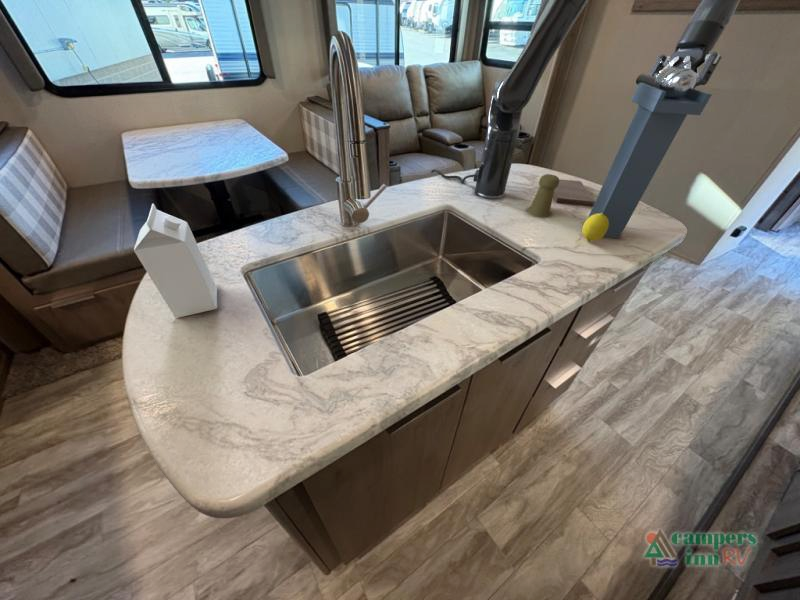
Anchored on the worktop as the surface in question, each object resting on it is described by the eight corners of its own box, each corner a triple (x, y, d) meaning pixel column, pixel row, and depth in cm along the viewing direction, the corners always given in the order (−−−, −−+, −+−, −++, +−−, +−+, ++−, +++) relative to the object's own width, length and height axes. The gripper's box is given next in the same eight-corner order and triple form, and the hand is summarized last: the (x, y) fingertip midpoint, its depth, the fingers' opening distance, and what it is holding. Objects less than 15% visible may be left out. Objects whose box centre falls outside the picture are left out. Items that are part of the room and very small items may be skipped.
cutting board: (592, 205, 101) (594, 201, 100) (556, 202, 103) (557, 197, 102) (579, 185, 114) (581, 181, 113) (547, 182, 115) (548, 178, 114)
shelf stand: (626, 243, 84) (712, 94, 62) (590, 239, 85) (662, 91, 63) (611, 222, 93) (682, 85, 71) (579, 219, 94) (639, 82, 72)
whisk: (692, 101, 64) (707, 70, 61) (664, 100, 65) (678, 70, 62) (650, 85, 80) (660, 60, 77) (628, 85, 81) (637, 60, 77)
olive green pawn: (545, 218, 94) (558, 181, 86) (525, 212, 96) (536, 176, 89) (551, 211, 97) (565, 175, 90) (532, 205, 100) (544, 170, 93)
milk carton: (175, 319, 59) (118, 227, 47) (178, 296, 64) (127, 206, 52) (217, 309, 62) (174, 219, 49) (217, 287, 66) (177, 200, 54)
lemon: (590, 248, 82) (604, 220, 77) (572, 238, 86) (585, 210, 80) (604, 244, 84) (619, 216, 79) (586, 234, 88) (599, 206, 82)
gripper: (668, 22, 80) (629, 97, 87) (733, 14, 69) (681, 100, 76) (684, 34, 83) (645, 105, 90) (749, 28, 72) (697, 109, 79)
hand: (661, 102), depth 83 cm, fingers open, 8 cm apart
